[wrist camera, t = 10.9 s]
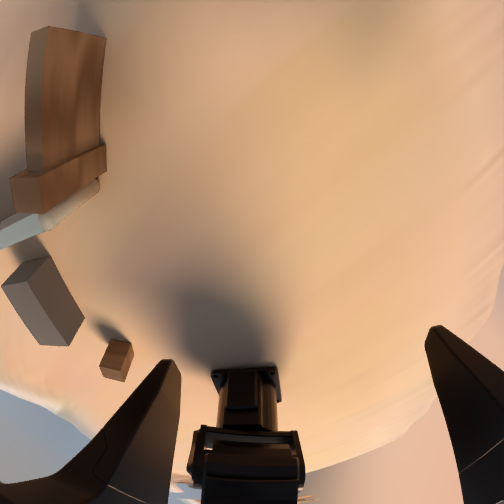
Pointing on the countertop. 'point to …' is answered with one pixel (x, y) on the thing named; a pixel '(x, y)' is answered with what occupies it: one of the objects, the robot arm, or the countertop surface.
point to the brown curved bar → (64, 136)
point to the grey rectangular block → (44, 302)
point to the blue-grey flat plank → (43, 217)
